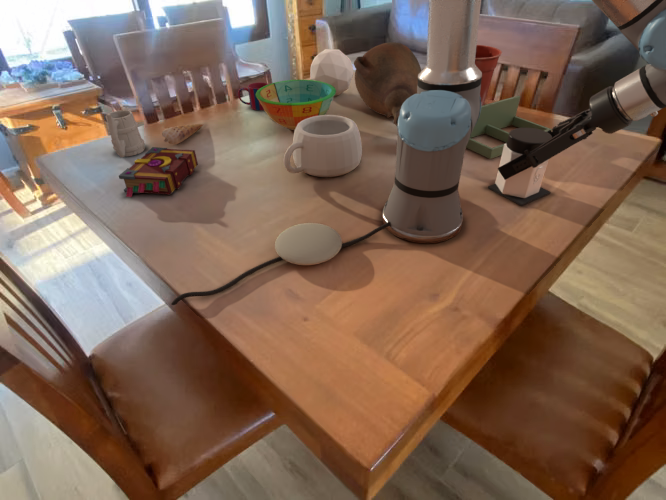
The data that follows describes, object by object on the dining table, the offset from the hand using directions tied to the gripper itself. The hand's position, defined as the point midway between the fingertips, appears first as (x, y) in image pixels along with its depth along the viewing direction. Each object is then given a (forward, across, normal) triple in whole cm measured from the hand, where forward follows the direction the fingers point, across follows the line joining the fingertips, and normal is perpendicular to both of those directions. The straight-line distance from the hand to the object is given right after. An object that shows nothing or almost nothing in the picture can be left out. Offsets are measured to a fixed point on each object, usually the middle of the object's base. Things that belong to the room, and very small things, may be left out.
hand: (513, 161), depth 89 cm
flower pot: (+26, +43, +17) cm, 53 cm away
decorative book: (+51, -44, +41) cm, 79 cm away
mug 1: (+65, -40, +56) cm, 95 cm away
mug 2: (+32, -17, +23) cm, 43 cm away
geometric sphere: (+55, +28, +46) cm, 78 cm away
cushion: (+19, -43, +10) cm, 48 cm away
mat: (+3, 0, -6) cm, 7 cm away
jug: (+35, +21, +26) cm, 48 cm away
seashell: (+62, -25, +53) cm, 85 cm away
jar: (+3, 0, -6) cm, 6 cm away
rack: (+12, +24, +3) cm, 27 cm away
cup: (+64, +4, +55) cm, 84 cm away
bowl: (+48, 0, +39) cm, 62 cm away
